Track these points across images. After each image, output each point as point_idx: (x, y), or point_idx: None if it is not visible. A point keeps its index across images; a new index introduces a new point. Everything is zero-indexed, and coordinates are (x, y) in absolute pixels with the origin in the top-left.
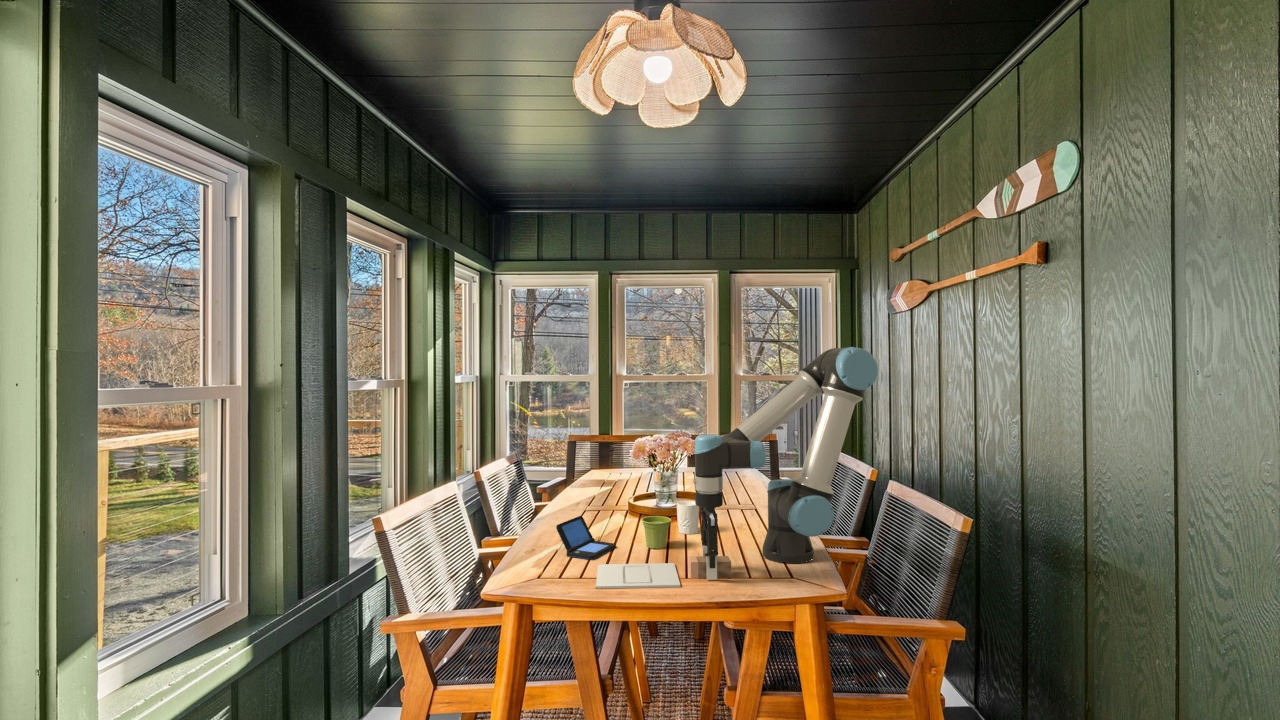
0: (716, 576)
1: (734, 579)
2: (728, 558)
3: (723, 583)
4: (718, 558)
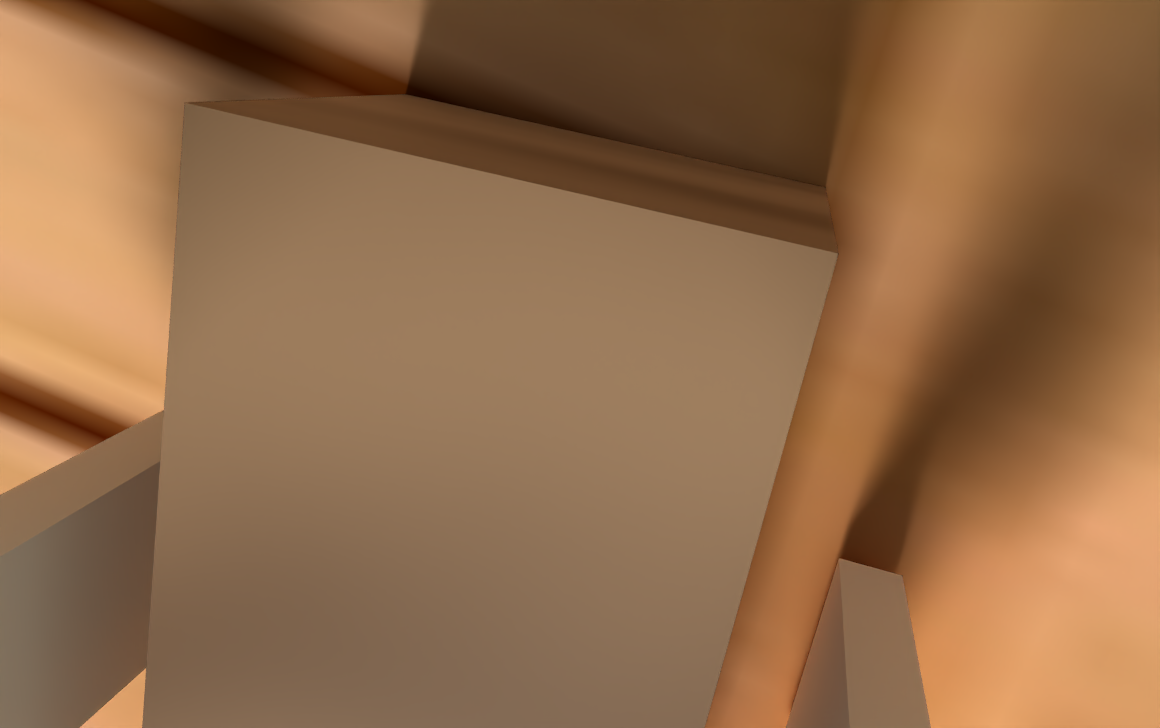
0: (907, 627)
1: (952, 150)
2: (452, 197)
3: (1121, 510)
4: (389, 524)
